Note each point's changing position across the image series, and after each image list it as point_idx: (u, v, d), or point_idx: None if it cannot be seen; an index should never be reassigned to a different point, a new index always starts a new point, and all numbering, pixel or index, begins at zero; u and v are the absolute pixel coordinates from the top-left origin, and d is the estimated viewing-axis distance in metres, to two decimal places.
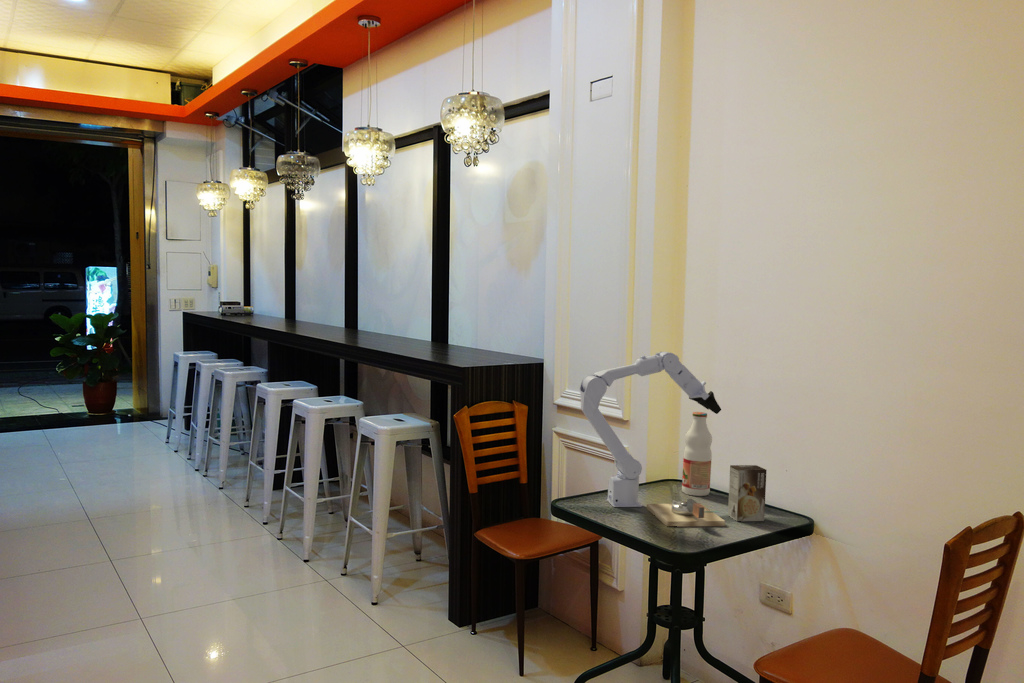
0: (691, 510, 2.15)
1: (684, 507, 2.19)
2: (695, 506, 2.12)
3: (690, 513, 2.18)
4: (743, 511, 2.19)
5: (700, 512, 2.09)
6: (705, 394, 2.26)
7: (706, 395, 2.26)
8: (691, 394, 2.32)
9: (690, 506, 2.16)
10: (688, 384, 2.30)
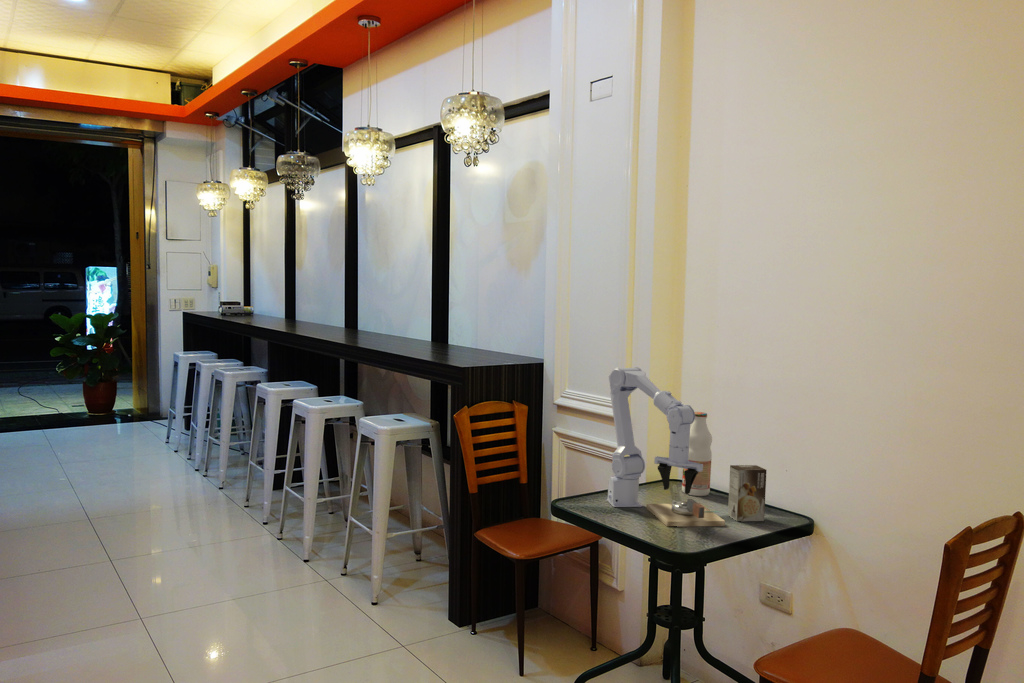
0: (691, 510, 2.15)
1: (684, 507, 2.19)
2: (695, 506, 2.12)
3: (690, 513, 2.18)
4: (743, 511, 2.19)
5: (700, 512, 2.09)
6: None
7: None
8: None
9: (690, 506, 2.16)
10: None
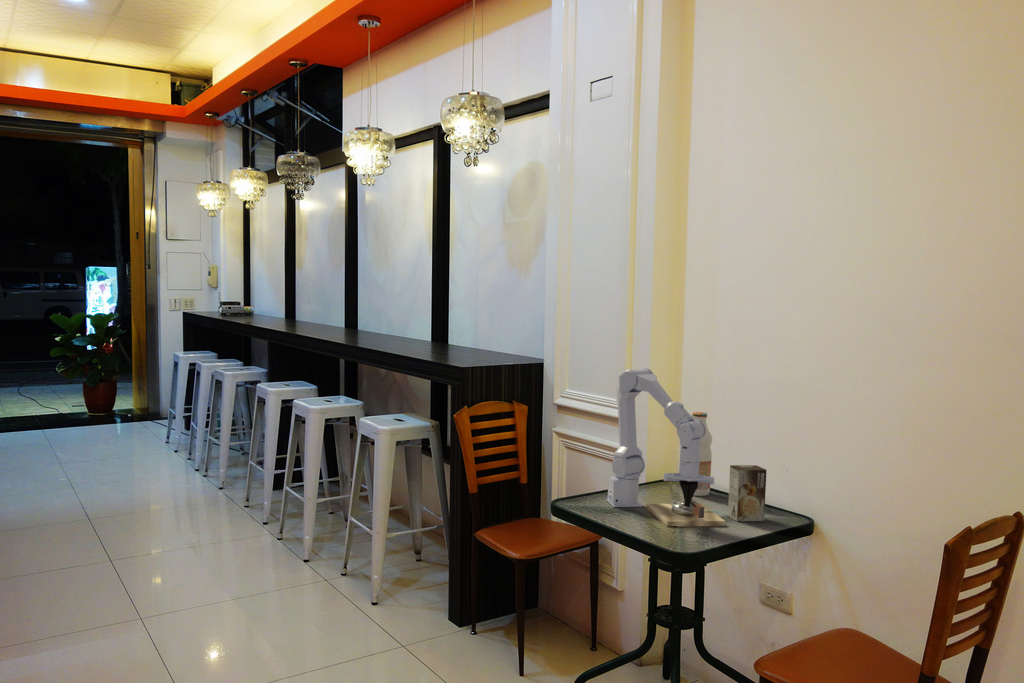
0: (691, 510, 2.15)
1: (684, 507, 2.19)
2: (695, 506, 2.12)
3: (690, 513, 2.18)
4: (743, 511, 2.19)
5: (700, 512, 2.09)
6: None
7: None
8: None
9: (690, 506, 2.16)
10: None
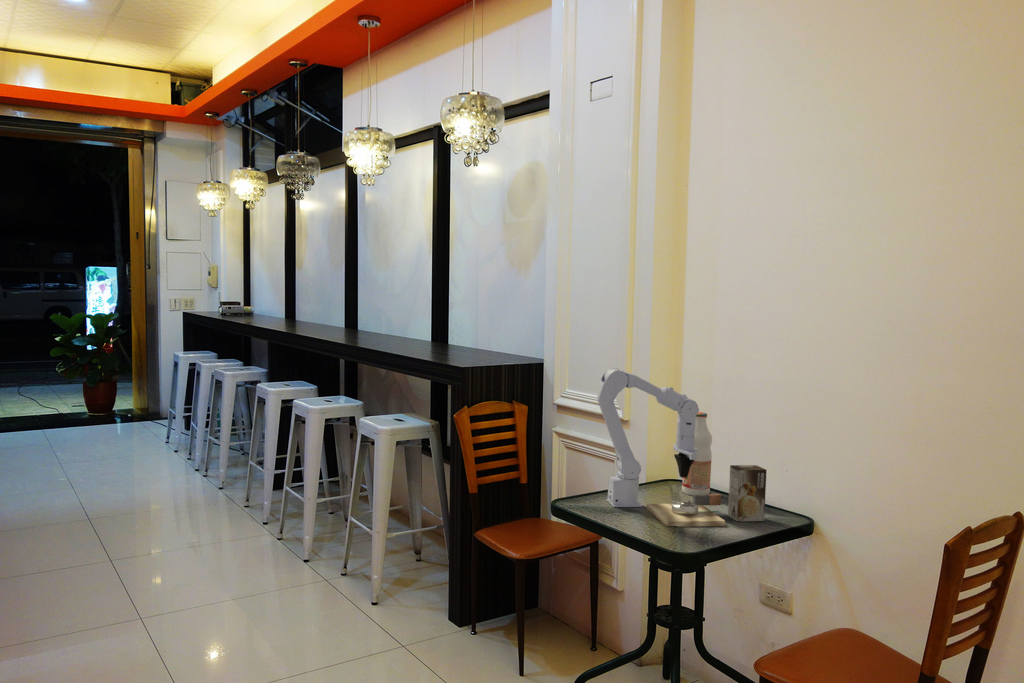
0: (705, 503, 2.23)
1: (694, 505, 2.21)
2: (714, 496, 2.23)
3: None
4: (743, 511, 2.19)
5: None
6: (694, 455, 2.26)
7: (694, 457, 2.26)
8: (680, 448, 2.31)
9: (702, 500, 2.22)
10: (686, 438, 2.30)
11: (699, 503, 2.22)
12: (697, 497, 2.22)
